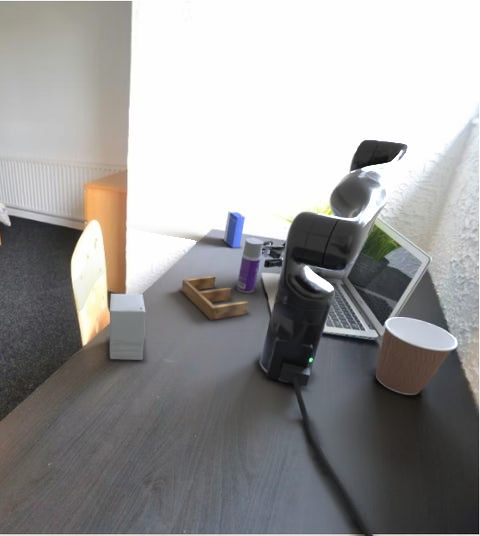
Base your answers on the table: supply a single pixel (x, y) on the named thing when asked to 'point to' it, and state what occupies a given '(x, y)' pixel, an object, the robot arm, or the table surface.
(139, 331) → the white packaging box
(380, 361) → the coffee cup
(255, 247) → the container
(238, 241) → the walkman
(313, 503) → the table surface
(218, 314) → the caddy
